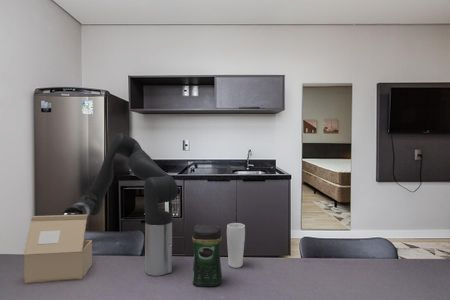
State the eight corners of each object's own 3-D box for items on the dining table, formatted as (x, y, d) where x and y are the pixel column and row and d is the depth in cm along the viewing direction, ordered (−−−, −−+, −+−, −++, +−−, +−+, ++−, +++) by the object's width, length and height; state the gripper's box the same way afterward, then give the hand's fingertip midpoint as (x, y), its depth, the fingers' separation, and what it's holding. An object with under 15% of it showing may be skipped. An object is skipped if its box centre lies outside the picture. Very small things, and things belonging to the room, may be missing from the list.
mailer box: (92, 264, 105) (92, 240, 105) (81, 279, 93) (81, 252, 93) (41, 267, 102) (41, 242, 102) (24, 283, 90) (24, 255, 90)
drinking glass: (243, 270, 102) (243, 228, 101) (224, 268, 103) (225, 227, 103) (245, 262, 108) (246, 223, 108) (228, 261, 110) (228, 222, 109)
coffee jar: (222, 276, 96) (222, 222, 96) (221, 288, 89) (221, 228, 88) (193, 275, 97) (194, 221, 97) (190, 287, 89) (190, 228, 89)
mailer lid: (87, 214, 99) (87, 214, 98) (82, 251, 93) (81, 251, 93) (33, 216, 96) (32, 216, 95) (24, 254, 90) (23, 254, 90)
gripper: (59, 204, 112) (37, 214, 95) (94, 203, 114) (80, 213, 97) (58, 223, 112) (37, 237, 95) (94, 222, 114) (79, 235, 97)
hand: (59, 225), depth 96 cm, fingers closed
